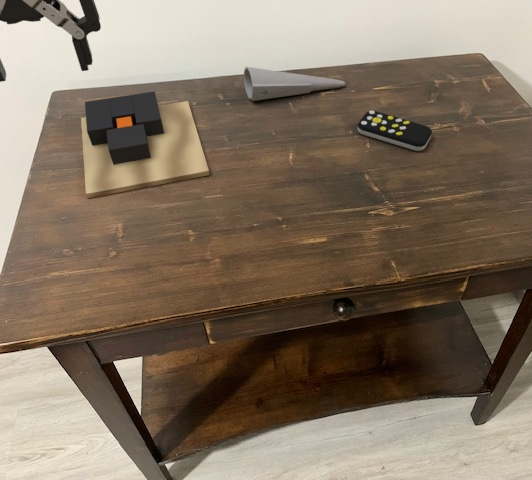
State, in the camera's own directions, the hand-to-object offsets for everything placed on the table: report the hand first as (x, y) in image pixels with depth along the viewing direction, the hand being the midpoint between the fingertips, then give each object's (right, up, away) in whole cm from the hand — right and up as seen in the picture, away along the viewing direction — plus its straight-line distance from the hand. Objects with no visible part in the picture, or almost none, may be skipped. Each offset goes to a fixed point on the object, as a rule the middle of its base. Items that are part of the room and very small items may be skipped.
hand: (44, 72), depth 59 cm
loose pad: (-1, -3, +31) cm, 31 cm away
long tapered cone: (+26, +11, +46) cm, 54 cm away
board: (0, -3, +32) cm, 32 cm away
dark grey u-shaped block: (-4, +2, +35) cm, 35 cm away
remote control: (+44, 0, +37) cm, 57 cm away
